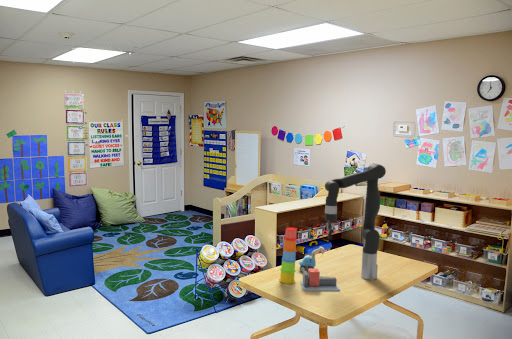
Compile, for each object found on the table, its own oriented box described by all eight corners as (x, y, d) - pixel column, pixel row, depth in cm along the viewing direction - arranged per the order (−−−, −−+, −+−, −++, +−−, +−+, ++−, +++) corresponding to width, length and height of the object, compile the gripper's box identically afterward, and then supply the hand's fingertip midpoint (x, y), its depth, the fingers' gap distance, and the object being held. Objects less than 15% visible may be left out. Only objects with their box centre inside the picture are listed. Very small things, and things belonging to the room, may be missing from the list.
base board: (334, 283, 252) (334, 281, 251) (339, 290, 240) (339, 289, 239) (300, 283, 250) (300, 281, 250) (303, 290, 239) (303, 289, 238)
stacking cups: (286, 276, 260) (287, 225, 257) (298, 281, 253) (300, 228, 250) (275, 280, 253) (277, 227, 250) (287, 285, 246) (289, 230, 242)
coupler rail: (334, 283, 249) (334, 270, 248) (337, 287, 242) (337, 274, 241) (302, 283, 248) (303, 270, 247) (304, 287, 241) (304, 274, 240)
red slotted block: (317, 282, 248) (317, 268, 247) (319, 286, 242) (319, 272, 241) (307, 282, 248) (308, 268, 247) (309, 286, 242) (309, 272, 241)
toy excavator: (323, 274, 267) (324, 249, 265) (298, 271, 270) (299, 247, 269) (323, 269, 275) (324, 245, 274) (299, 267, 279) (300, 243, 277)
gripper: (339, 214, 246) (338, 241, 248) (334, 210, 260) (333, 236, 261) (327, 214, 246) (326, 241, 248) (322, 210, 259) (321, 236, 261)
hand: (329, 238), depth 255 cm, fingers closed
